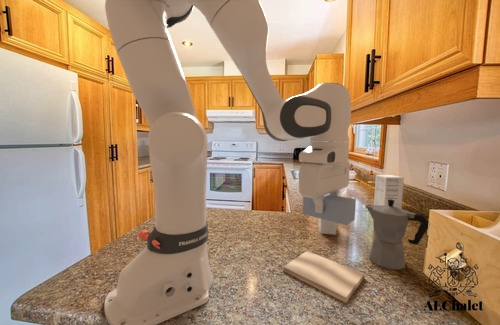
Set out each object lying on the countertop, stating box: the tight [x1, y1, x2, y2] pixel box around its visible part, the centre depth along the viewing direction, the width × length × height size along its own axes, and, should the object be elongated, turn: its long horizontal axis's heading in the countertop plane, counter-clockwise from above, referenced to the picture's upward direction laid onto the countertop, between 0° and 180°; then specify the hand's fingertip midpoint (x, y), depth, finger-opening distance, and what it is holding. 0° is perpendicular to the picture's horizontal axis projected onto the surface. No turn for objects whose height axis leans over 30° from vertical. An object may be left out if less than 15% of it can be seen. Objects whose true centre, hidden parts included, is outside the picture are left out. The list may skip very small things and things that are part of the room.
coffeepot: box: [365, 200, 430, 271], centre depth 61 cm, size 15×9×18 cm, turn 39°
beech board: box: [282, 250, 365, 303], centre depth 56 cm, size 12×16×1 cm
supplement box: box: [373, 174, 405, 209], centre depth 115 cm, size 10×9×17 cm
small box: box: [317, 218, 338, 236], centre depth 84 cm, size 8×6×10 cm
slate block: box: [302, 193, 357, 226], centre depth 54 cm, size 5×5×11 cm
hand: (325, 209), depth 55 cm, fingers closed on slate block, 5 cm apart
